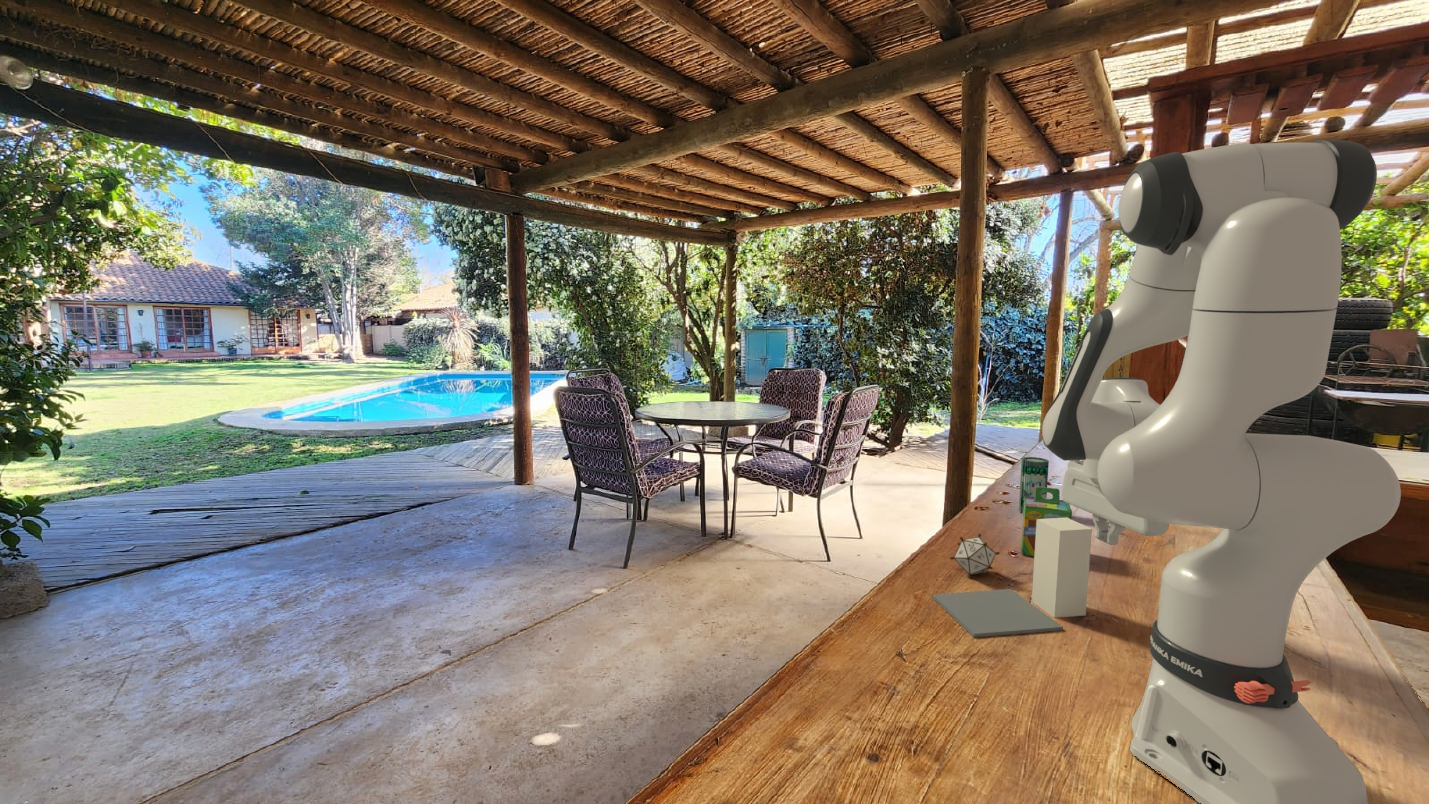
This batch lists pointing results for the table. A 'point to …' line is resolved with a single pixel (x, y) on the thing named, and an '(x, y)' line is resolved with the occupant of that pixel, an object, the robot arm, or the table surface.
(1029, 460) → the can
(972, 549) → the game die
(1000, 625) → the rubber mat
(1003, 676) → the table surface
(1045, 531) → the cream block
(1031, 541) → the chalk box
